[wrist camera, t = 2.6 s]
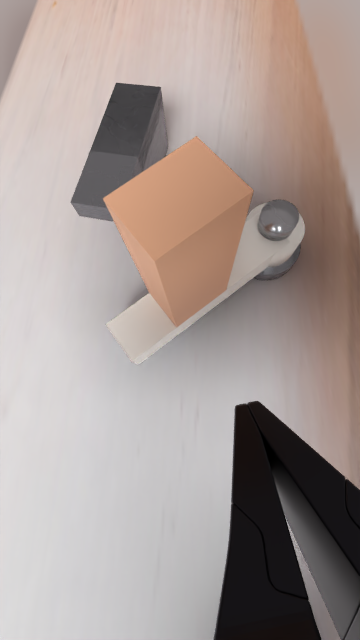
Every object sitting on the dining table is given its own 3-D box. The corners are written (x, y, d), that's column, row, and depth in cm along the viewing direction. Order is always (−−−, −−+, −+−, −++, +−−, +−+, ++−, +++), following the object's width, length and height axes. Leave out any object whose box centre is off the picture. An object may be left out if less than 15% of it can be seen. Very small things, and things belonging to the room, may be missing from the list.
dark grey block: (168, 147, 24) (160, 87, 20) (137, 250, 22) (120, 210, 17) (132, 142, 25) (116, 82, 20) (98, 243, 22) (70, 202, 17)
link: (269, 210, 21) (340, 26, 10) (305, 245, 20) (427, 82, 9) (110, 326, 19) (6, 247, 9) (142, 370, 18) (67, 342, 8)
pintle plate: (294, 282, 20) (320, 254, 16) (229, 276, 21) (236, 247, 16) (296, 226, 21) (320, 185, 17) (234, 221, 22) (243, 180, 18)
